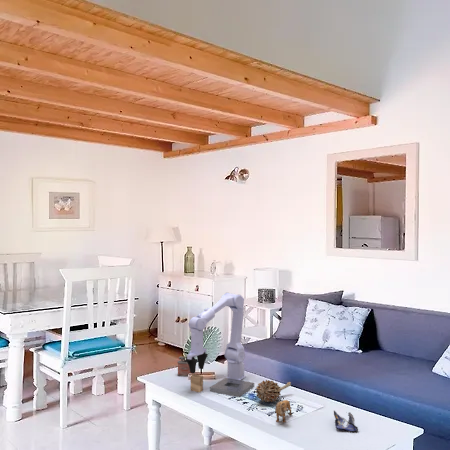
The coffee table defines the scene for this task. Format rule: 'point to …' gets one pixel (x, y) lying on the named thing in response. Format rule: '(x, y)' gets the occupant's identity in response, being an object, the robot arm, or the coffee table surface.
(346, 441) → the coffee table surface
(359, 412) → the coffee table surface
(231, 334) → the robot arm
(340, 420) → the blue pointed piece
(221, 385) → the collar plate
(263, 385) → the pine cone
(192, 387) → the tan cardboard box
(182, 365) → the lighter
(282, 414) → the lion figurine
